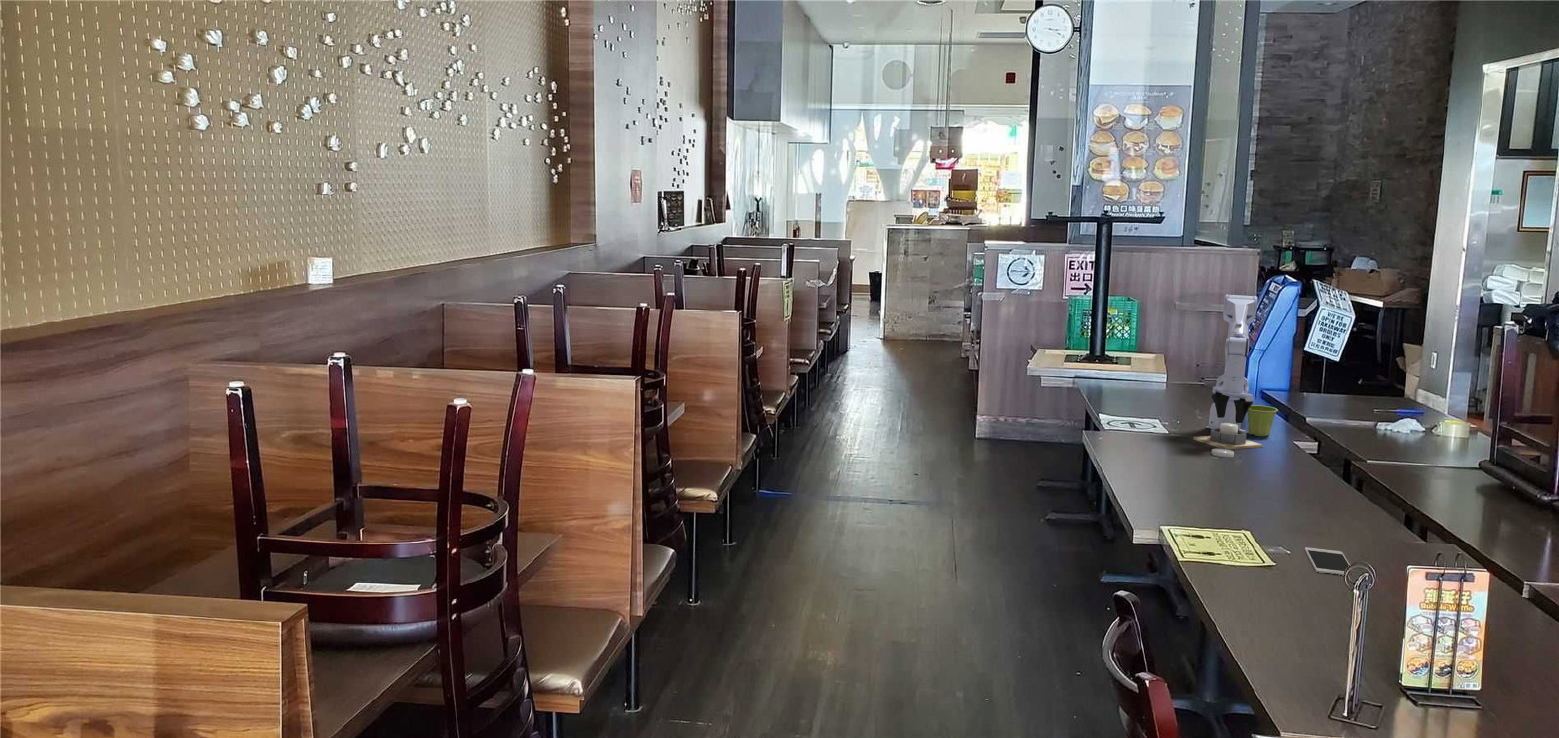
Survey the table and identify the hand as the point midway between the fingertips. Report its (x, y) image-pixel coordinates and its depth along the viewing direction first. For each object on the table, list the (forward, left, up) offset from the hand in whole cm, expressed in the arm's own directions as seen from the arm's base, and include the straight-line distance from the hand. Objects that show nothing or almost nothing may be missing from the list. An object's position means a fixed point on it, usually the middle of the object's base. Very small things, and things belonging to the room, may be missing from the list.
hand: (1229, 420), depth 322 cm
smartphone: (+94, -61, -8) cm, 112 cm away
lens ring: (0, 0, -7) cm, 7 cm away
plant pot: (-8, +20, -8) cm, 23 cm away
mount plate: (0, 0, -7) cm, 7 cm away
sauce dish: (+12, -13, -8) cm, 19 cm away
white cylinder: (0, 0, -7) cm, 6 cm away
